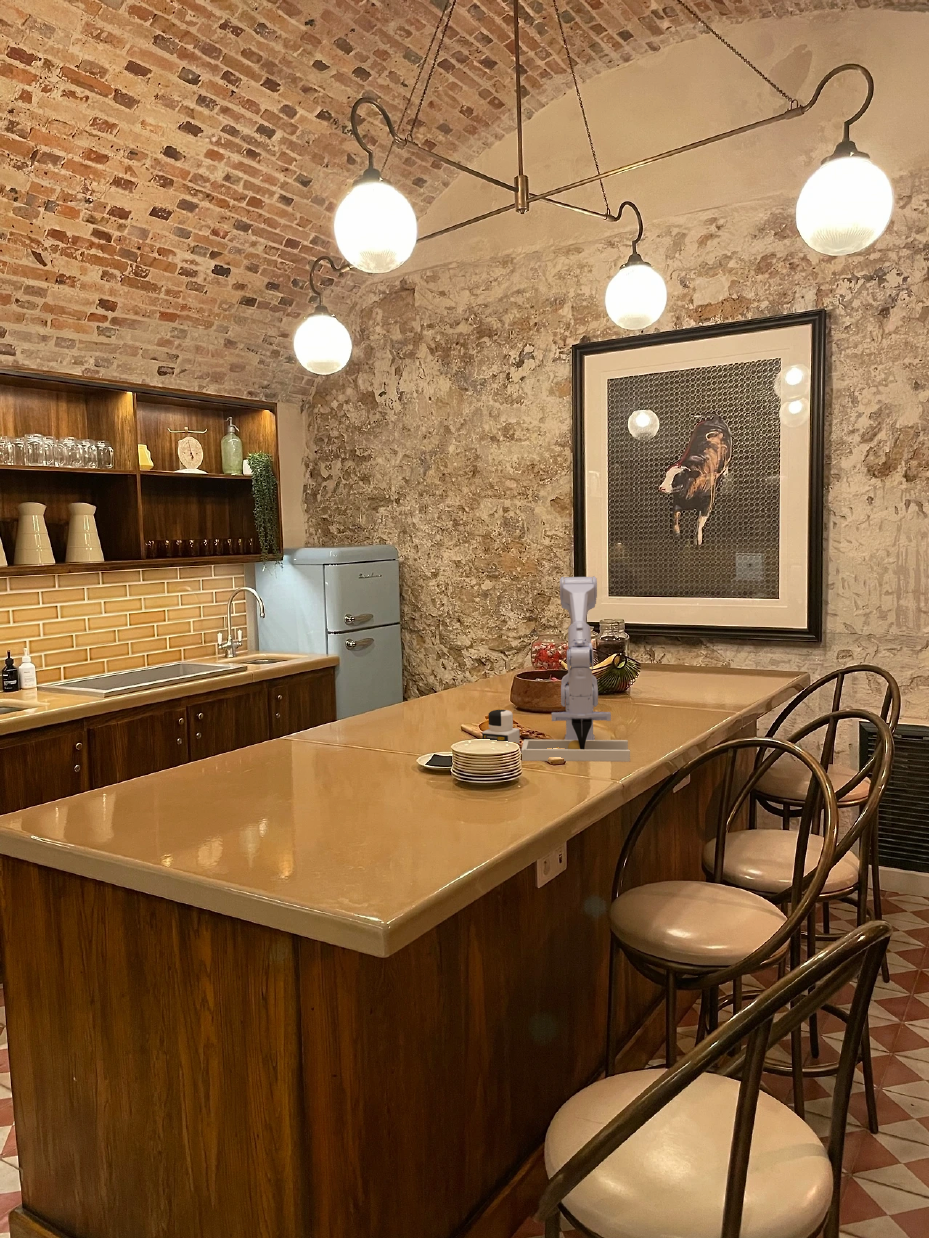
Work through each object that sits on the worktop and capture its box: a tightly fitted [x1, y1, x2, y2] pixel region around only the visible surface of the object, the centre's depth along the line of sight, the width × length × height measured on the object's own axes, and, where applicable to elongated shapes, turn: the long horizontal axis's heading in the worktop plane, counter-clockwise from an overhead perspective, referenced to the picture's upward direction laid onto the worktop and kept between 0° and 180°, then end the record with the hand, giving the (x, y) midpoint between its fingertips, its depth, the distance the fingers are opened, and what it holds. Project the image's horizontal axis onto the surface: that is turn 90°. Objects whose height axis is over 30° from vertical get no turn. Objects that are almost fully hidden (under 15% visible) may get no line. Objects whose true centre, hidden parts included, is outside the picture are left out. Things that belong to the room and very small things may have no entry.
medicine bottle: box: [481, 709, 520, 744], centre depth 237 cm, size 7×7×12 cm
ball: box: [568, 740, 580, 749], centre depth 236 cm, size 4×4×4 cm
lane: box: [520, 739, 631, 763], centre depth 237 cm, size 12×26×3 cm, turn 83°
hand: (581, 749), depth 235 cm, fingers closed, pressing on ball
